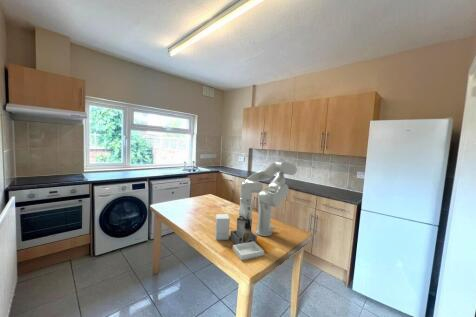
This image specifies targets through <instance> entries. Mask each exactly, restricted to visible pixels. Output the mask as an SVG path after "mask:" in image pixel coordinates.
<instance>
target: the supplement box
mask: <svg viewBox="0 0 476 317" xmlns="http://www.w3.org/2000/svg"><path fill="white" fill-rule="evenodd" d="M230 219H231V218H230V216H229V213H218V214H217V213H216V214H215V226H214V227H215V230H214V235H215V236H214V237H215V241H225V240H227V241H228V240H229V238H230Z"/></svg>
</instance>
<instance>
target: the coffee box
mask: <svg viewBox="0 0 476 317" xmlns="http://www.w3.org/2000/svg"><path fill="white" fill-rule="evenodd" d="M246 218H248V217H246ZM247 221H248V219H247ZM245 223H246V220H245V219H244V218H243V217H239V216H238V217H237V219H236V230H237V231H236V236H237V237H238V238H239V244H242V243H247V242H251V241H252V240H251V231H252V227H253V226H252V224H253V219H252V220H251V223H250V228H249V229H245Z"/></svg>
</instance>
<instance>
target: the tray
mask: <svg viewBox="0 0 476 317" xmlns="http://www.w3.org/2000/svg"><path fill="white" fill-rule="evenodd" d="M232 251H233V252H234V253H235V255H236V256H237V258H238V259H240V261H246V260H251V259H255V258H259V257H262V256H263V257H264V256H265V250H264V249H263V248H262V247H261V246H260V245H259V244H257V242H256V243H255V242H254V241H248V242H247V243H242V244H240V243H239V244H237V245H236V244H233V245H232Z"/></svg>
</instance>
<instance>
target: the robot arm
mask: <svg viewBox="0 0 476 317" xmlns="http://www.w3.org/2000/svg"><path fill="white" fill-rule="evenodd" d="M297 171H298V168H297V165H296V164H294V163H290V162H288V161H284V160H282V161H281V160H273V161H271V162H270V163H268V164H267V165H266V167H264V168H263V169H262V170H259V171H256V172H255V173H252V174H251V175H250V176H248V177H247V178H246V179H245V180H244V181H242V182H241V184H240V198H239V200H240V201H239V209H238V218H239V217H243V218H244V219H245V220H246V223H245V229H249V228H250V223H251V220H252V221H253V217H252V215H253V214H252V213H253V211H252V210H253V208H252V207H253V206H252V197H253V196H252V195H253V193H255V194H257V195H258V196H257V201H258V213H257V214H258V216H257V228H255V230H254V232H255V233H254V234H255V235H257V236H258V235H259V236H262V237H269V236H271V235H273V230H276V226H272V225H271V221H272V207H273V208H277V207H279V206H280V205H281V204H282V202H284V200H285V198H286V197H287V195H288V194H289V190H290V189H289V186H288V184H285V183H286V177H285V175H289V176H294V175H295V174H296V173H297ZM274 176H275V177H274ZM273 177H274V178H273ZM272 178H273V179H272ZM271 179H272V181H271V182H270V183H269V184H268V186H267V190H263V189H264V186H263V183H262V182H263V181H269V180H271ZM246 217H248V218H246ZM247 219H248V221H247Z"/></svg>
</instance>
